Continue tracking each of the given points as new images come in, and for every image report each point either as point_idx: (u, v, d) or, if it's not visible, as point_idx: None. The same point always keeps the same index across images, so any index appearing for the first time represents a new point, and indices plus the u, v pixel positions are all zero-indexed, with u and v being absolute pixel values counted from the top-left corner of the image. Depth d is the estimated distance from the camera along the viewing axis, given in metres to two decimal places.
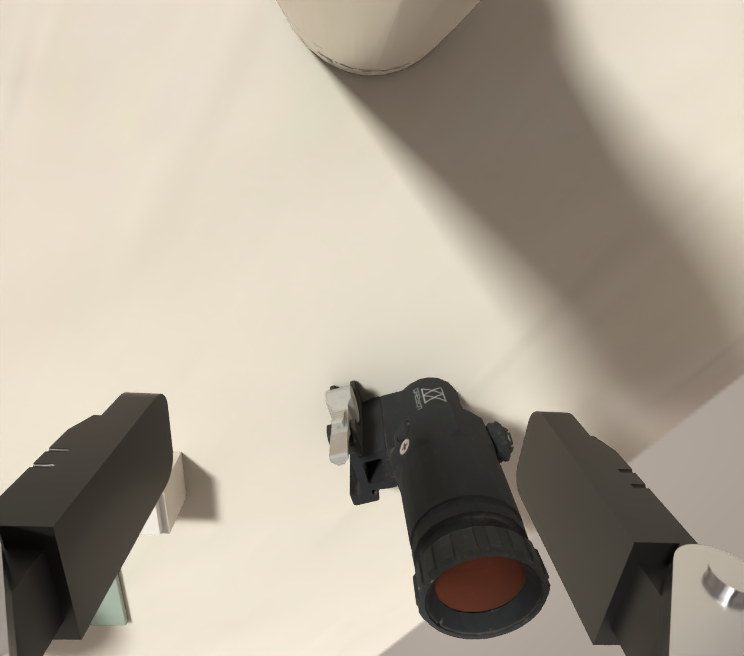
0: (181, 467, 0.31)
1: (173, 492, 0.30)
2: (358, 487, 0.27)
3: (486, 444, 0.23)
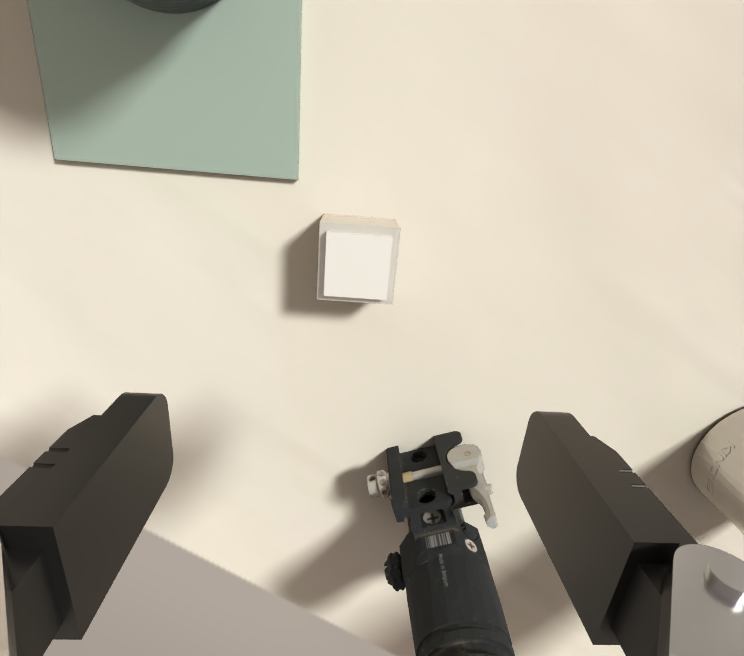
0: None
1: None
2: None
3: None
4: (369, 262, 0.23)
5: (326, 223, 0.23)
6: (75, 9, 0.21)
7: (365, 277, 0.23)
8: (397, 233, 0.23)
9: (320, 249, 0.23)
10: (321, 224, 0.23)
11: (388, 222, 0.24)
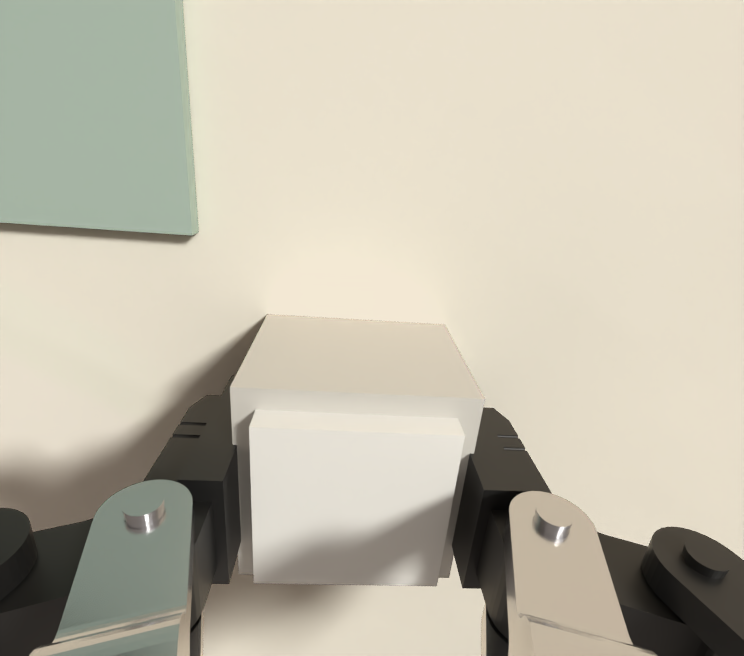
0: None
1: None
2: None
3: None
4: (387, 503, 0.07)
5: (252, 390, 0.07)
6: None
7: (376, 538, 0.08)
8: (474, 412, 0.07)
9: (239, 459, 0.08)
10: (236, 394, 0.07)
11: (436, 352, 0.09)
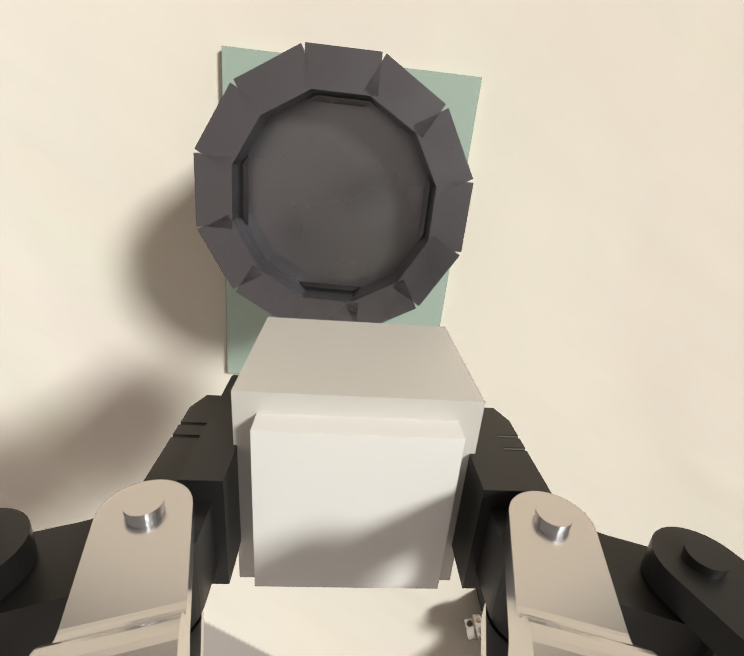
0: None
1: None
2: None
3: None
4: (389, 505, 0.07)
5: (253, 393, 0.07)
6: None
7: (377, 540, 0.08)
8: (475, 415, 0.07)
9: (240, 462, 0.08)
10: (237, 397, 0.07)
11: (436, 355, 0.09)
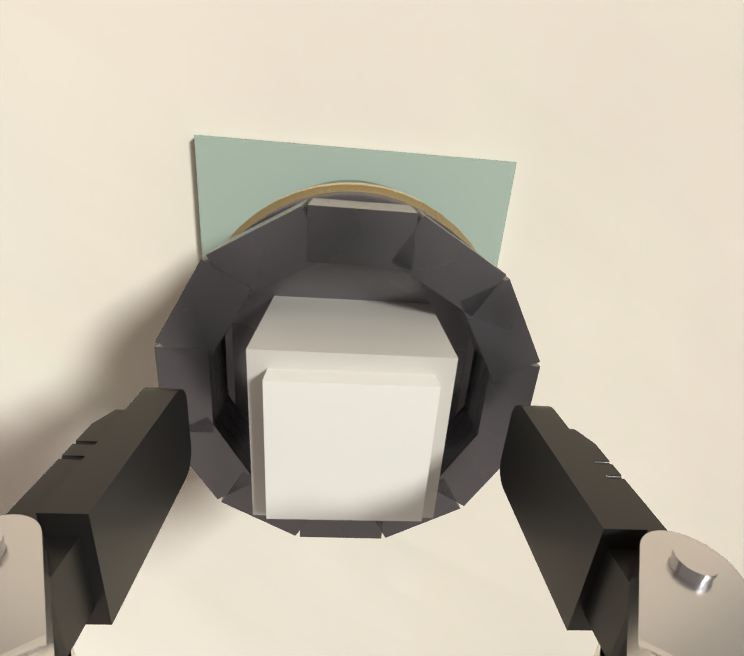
0: None
1: None
2: None
3: None
4: (378, 446, 0.09)
5: (264, 351, 0.09)
6: None
7: (369, 477, 0.09)
8: (450, 370, 0.09)
9: (253, 411, 0.09)
10: (251, 354, 0.09)
11: (420, 325, 0.10)
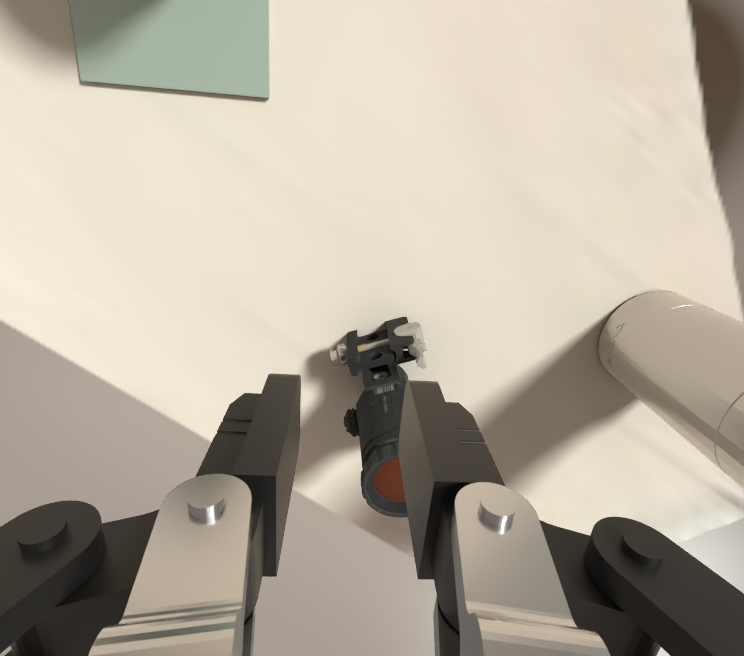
0: None
1: None
2: (356, 358, 0.35)
3: None
4: None
5: None
6: None
7: None
8: None
9: None
10: None
11: None
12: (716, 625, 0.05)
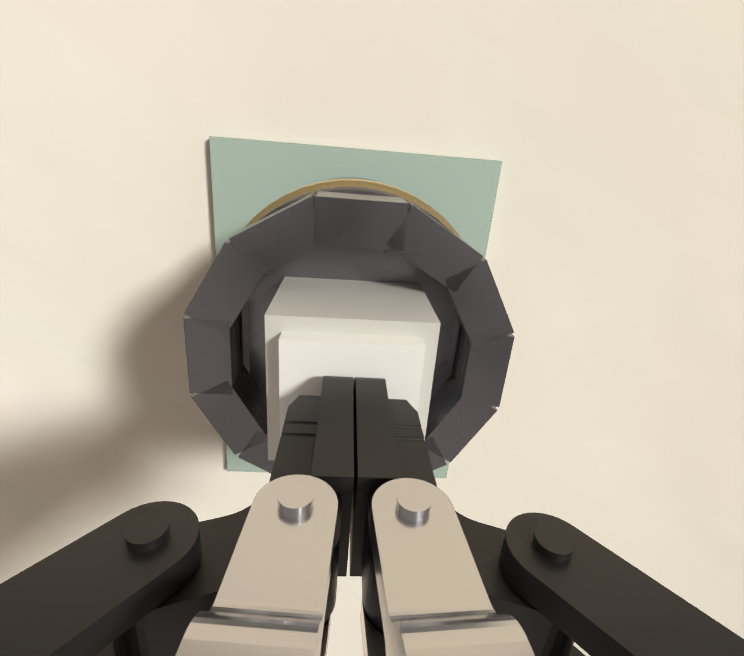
0: None
1: None
2: None
3: None
4: None
5: (279, 317, 0.10)
6: None
7: None
8: (434, 333, 0.11)
9: (269, 368, 0.11)
10: (268, 319, 0.10)
11: (410, 299, 0.12)
12: (625, 614, 0.05)
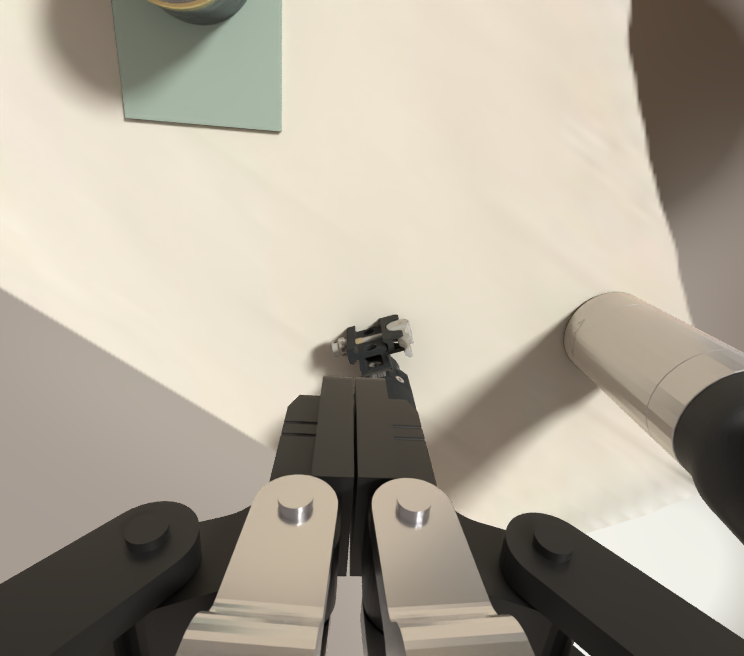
0: None
1: None
2: (354, 349, 0.41)
3: None
4: None
5: None
6: (142, 23, 0.35)
7: None
8: None
9: None
10: None
11: None
12: (625, 614, 0.05)
